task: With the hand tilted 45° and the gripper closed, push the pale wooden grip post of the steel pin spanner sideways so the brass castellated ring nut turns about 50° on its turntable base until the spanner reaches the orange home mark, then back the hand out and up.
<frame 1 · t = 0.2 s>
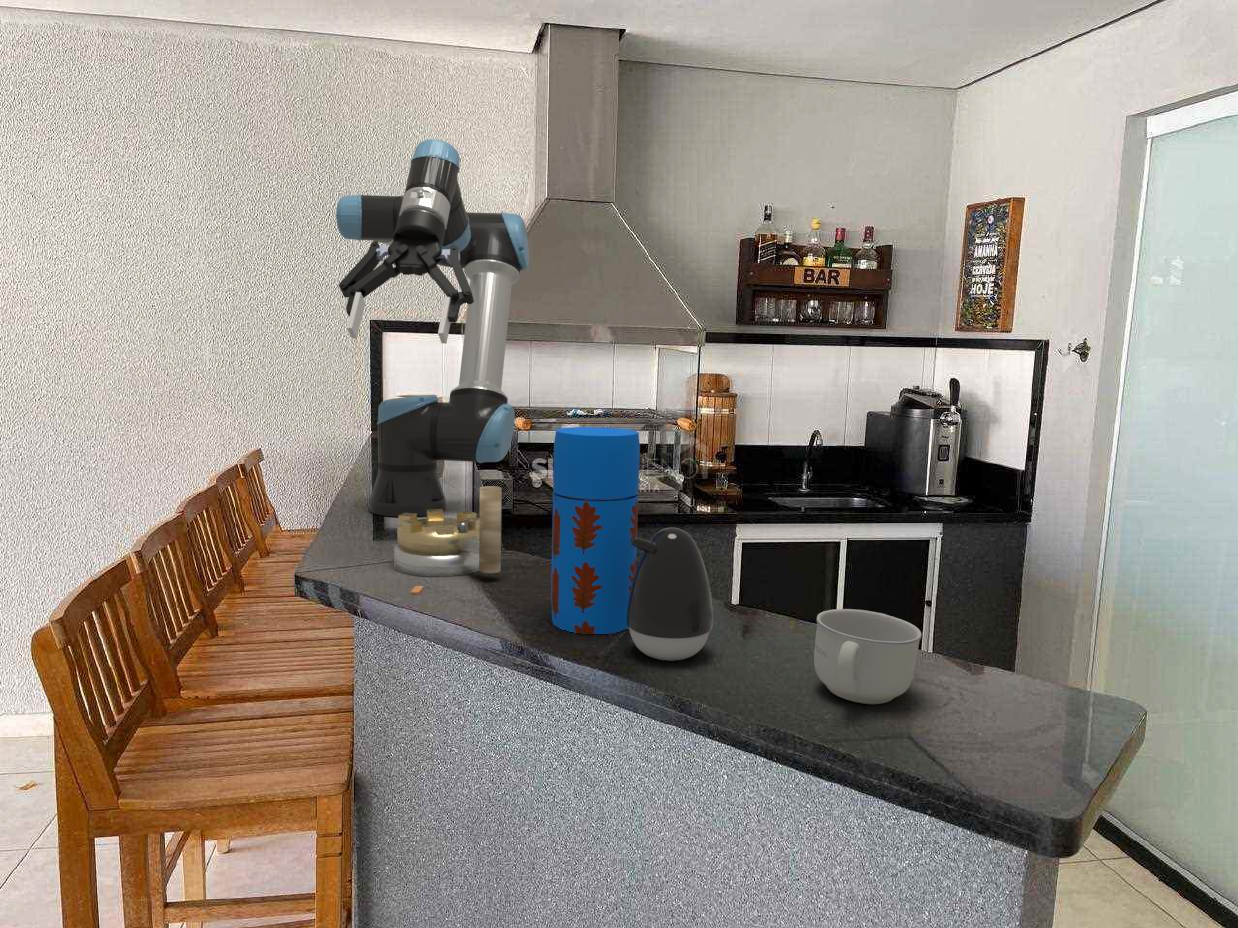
hand: (396, 336, 142), 36 cm above the counter, tool tilted 35°, fingers open, 13 cm apart
teacup: (856, 699, 102), on the counter
thermos: (592, 623, 125), on the counter
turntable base: (439, 565, 152), on the counter
ring nut: (454, 520, 149), point 8 cm above the counter, hinge at 0.0°
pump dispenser: (667, 655, 114), on the counter
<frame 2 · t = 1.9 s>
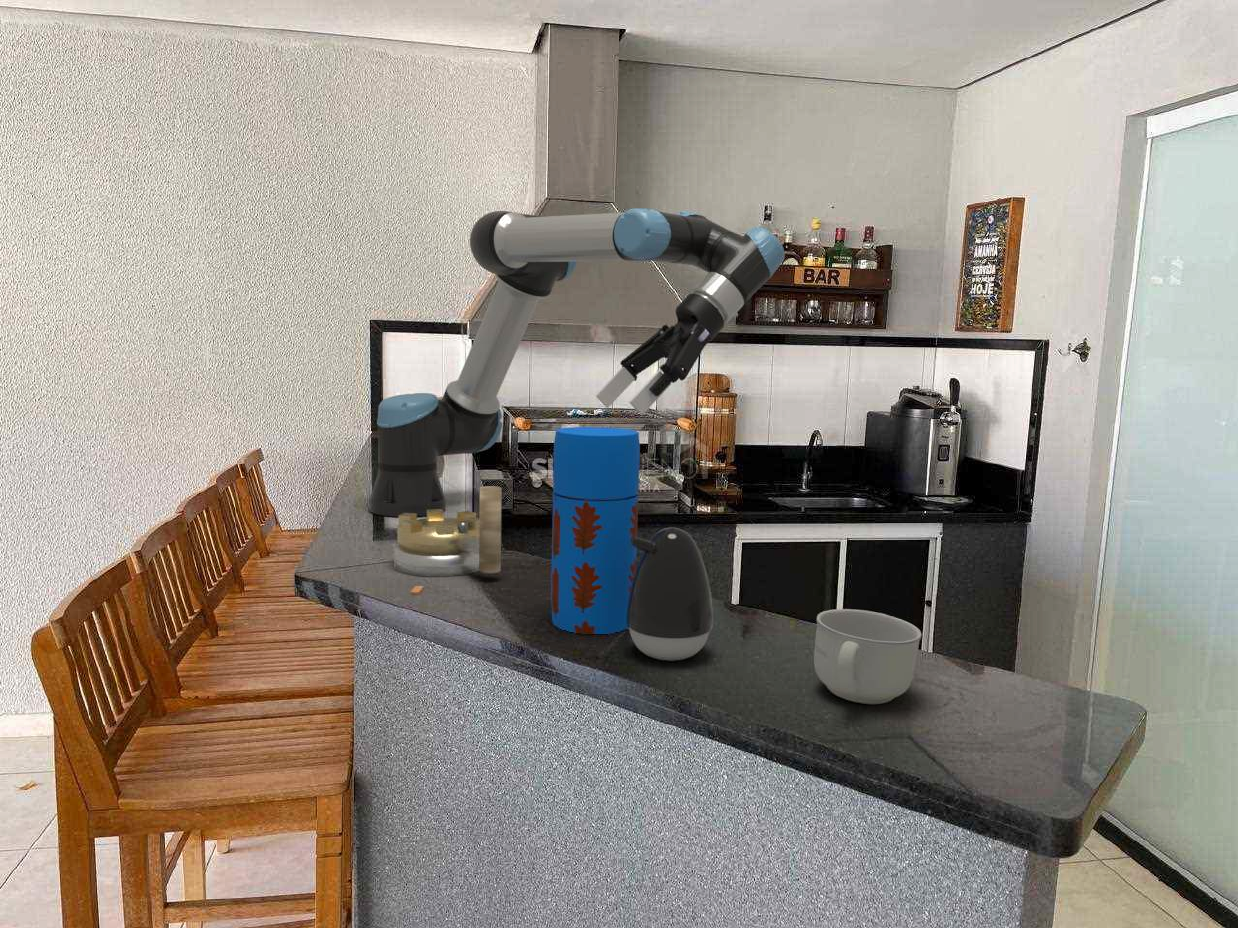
hand: (617, 405, 148), 26 cm above the counter, tool tilted 45°, fingers open, 13 cm apart
nothing on the counter moved.
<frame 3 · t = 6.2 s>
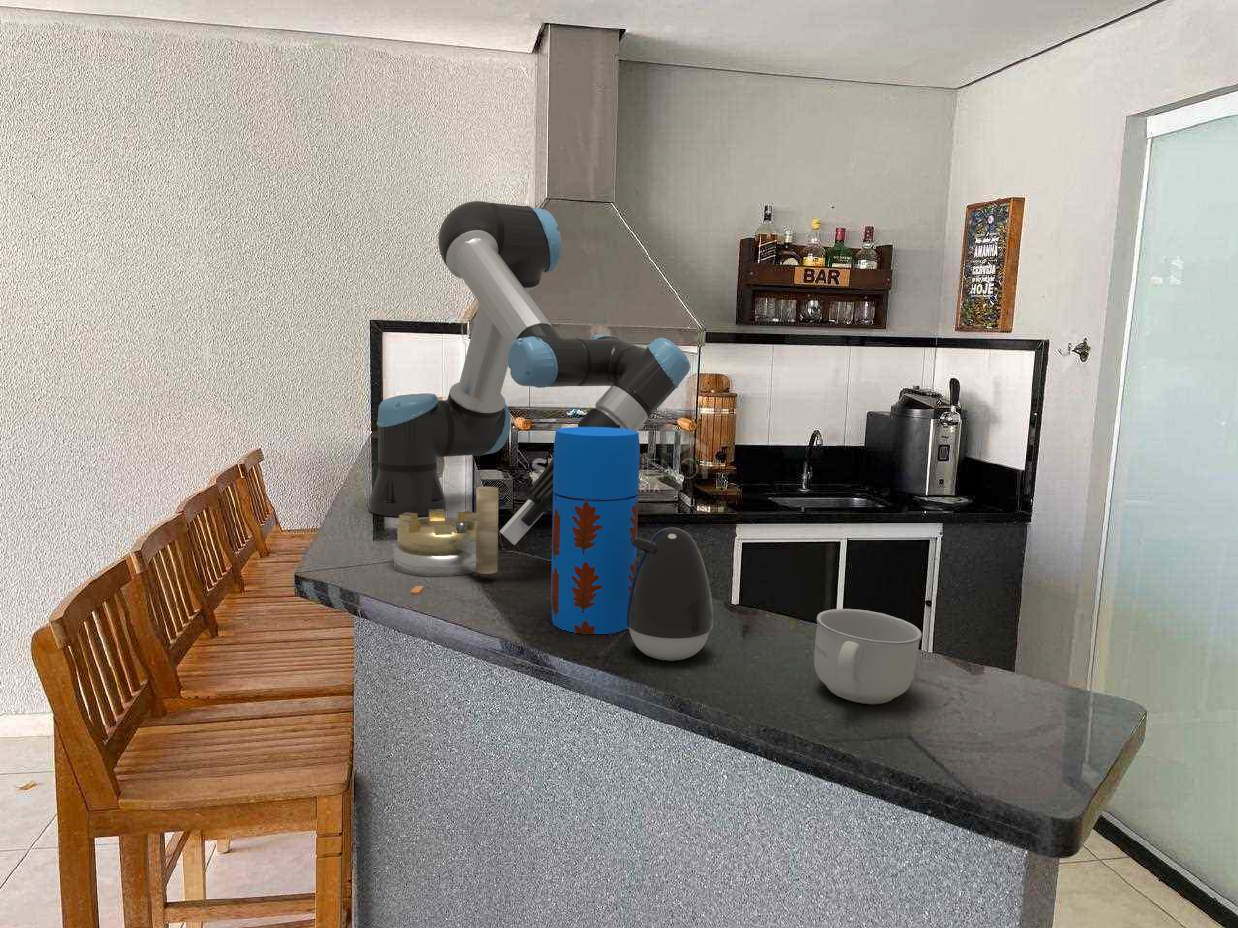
hand: (507, 538, 143), 7 cm above the counter, tool tilted 45°, fingers closed
ring nut: (453, 520, 149), point 8 cm above the counter, hinge at -2.9°, touching gripper
everything else where it was.
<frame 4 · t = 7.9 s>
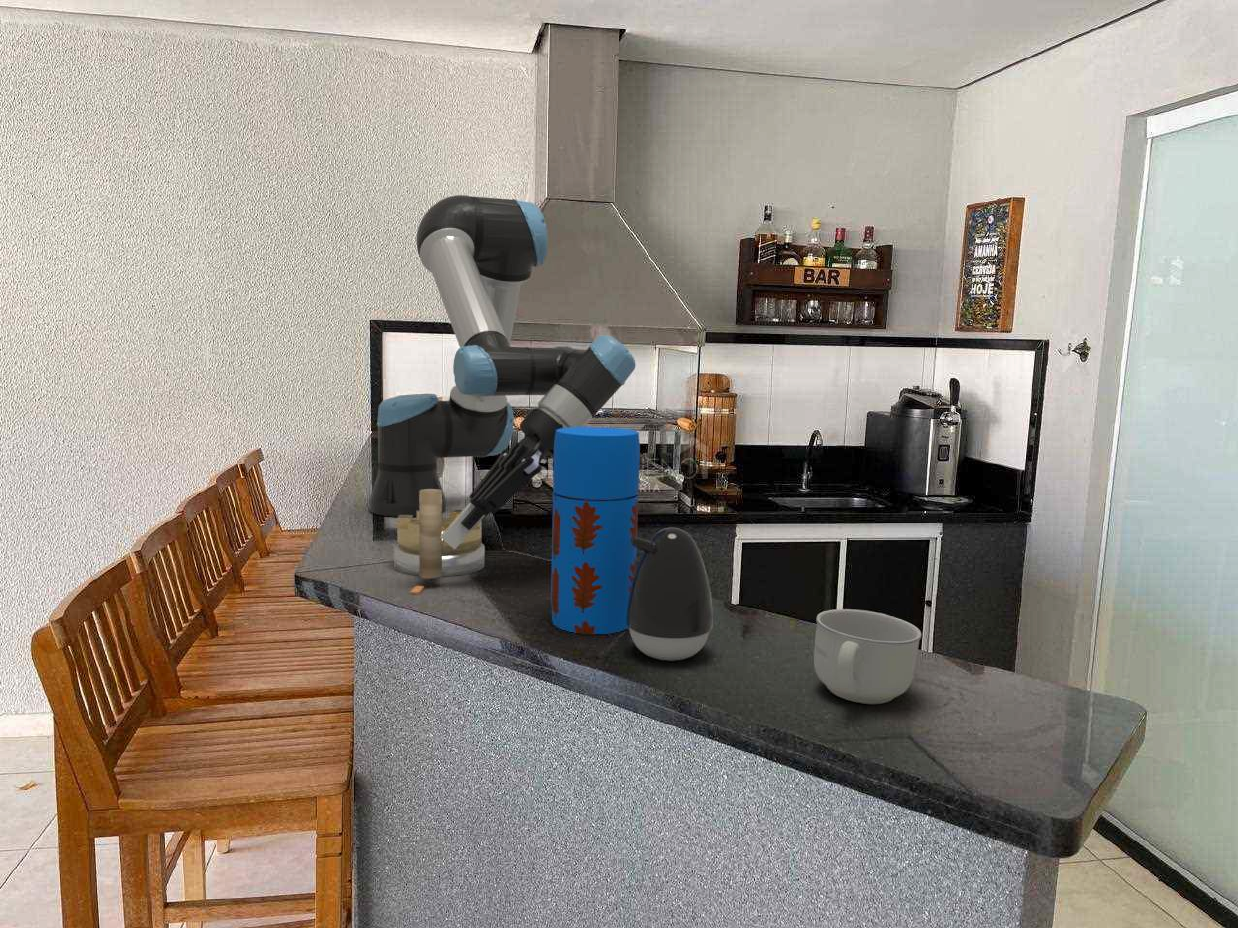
hand: (447, 542, 139), 7 cm above the counter, tool tilted 45°, fingers closed
ring nut: (437, 521, 148), point 8 cm above the counter, hinge at -44.2°, touching gripper
everything else where it was.
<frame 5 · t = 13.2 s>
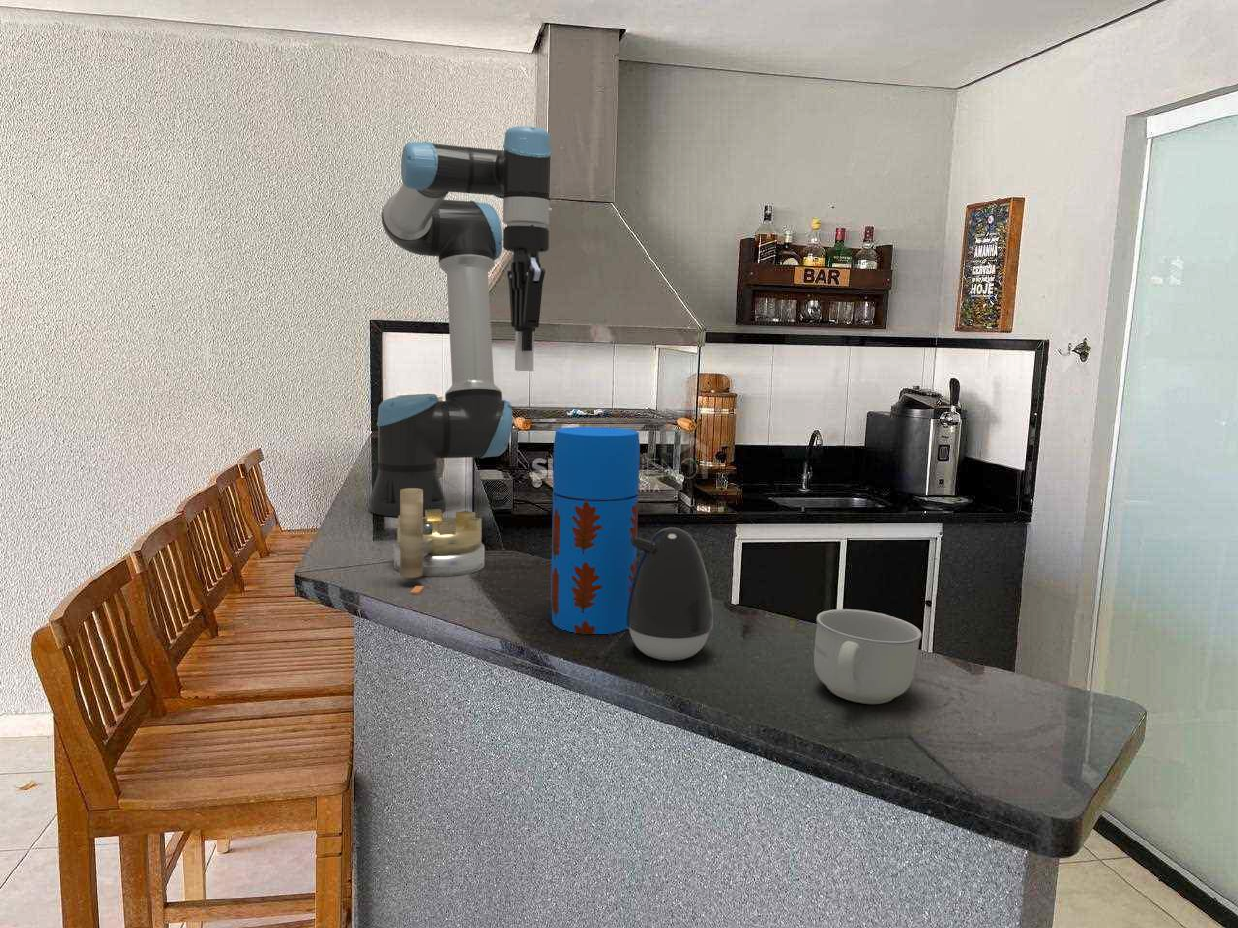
hand: (524, 370, 162), 30 cm above the counter, tool pointing down, fingers closed
ring nut: (431, 521, 148), point 8 cm above the counter, hinge at -57.4°
everything else where it was.
at the end: ring nut at -57° (first picture: +0°); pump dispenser moved 0.2 cm from its start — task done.
